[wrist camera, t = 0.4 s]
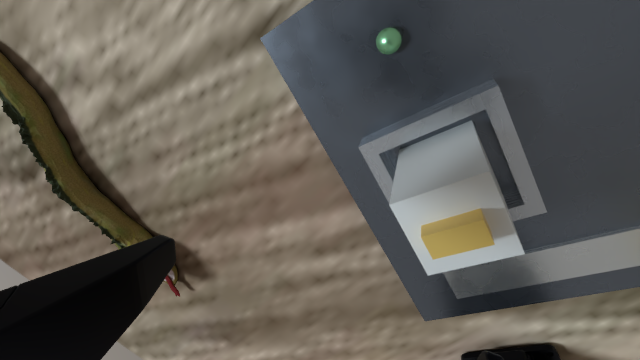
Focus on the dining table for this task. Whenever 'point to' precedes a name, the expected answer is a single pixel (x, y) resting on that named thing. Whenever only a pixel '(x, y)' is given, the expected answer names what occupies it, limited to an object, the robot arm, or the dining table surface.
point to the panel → (485, 129)
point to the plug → (452, 203)
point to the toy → (65, 163)
